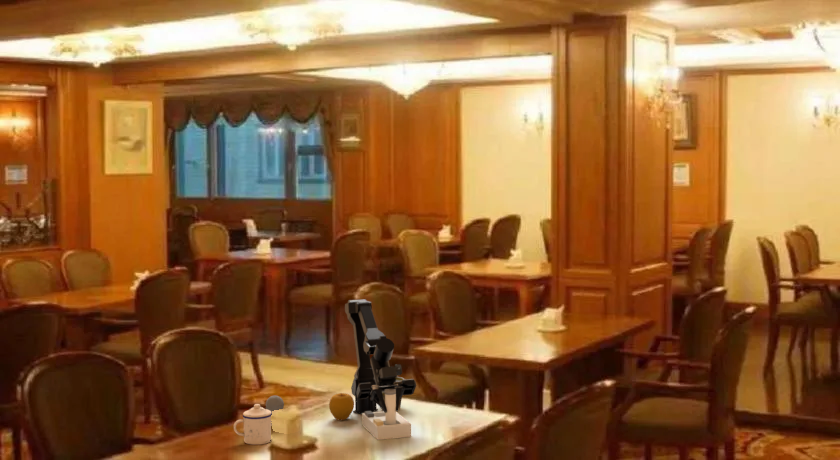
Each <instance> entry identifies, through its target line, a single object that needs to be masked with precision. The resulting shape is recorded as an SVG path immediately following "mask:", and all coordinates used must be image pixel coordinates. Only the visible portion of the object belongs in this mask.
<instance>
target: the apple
mask: <svg viewBox="0 0 840 460" xmlns="http://www.w3.org/2000/svg"><path fill="white" fill-rule="evenodd" d="M328 405H329V411H330V413H331V415H332V416H333V417H334V419H335V420H336V421H345V420H347V419H348V418H349V417H350V415H351V414H352V413H353V411H354V408H355V399H354V397H353V396H352V395H351V394H348V393H345V392H343V393H342V392H341V393H336V394H334V395H332V396H331V398H330V400H329V404H328Z"/></svg>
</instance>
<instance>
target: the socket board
mask: <svg viewBox="0 0 840 460" xmlns="http://www.w3.org/2000/svg"><path fill="white" fill-rule="evenodd" d="M361 417H362V418H361V419H362V420H361V421H362V422H361V424H362V425H361V426H363V428H365V429H366V430H367V431H368V432H369V433H370V434H371V435H372V437H374V438H375V439H376V440H377V441H378V440H390V439H399V438H411V437H412V424H411V422H409V421H408V420H407V419H406V418H405V417H403V416H402V415H401V414H400V413H399V412H396V424H394V425H385V412H384V411H383V410H382V411H375V412H371V411H365V413H361Z"/></svg>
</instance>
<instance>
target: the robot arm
mask: <svg viewBox="0 0 840 460" xmlns="http://www.w3.org/2000/svg"><path fill="white" fill-rule="evenodd" d="M372 306H373V304H372V301H369V300H367V299H366V298H365V299H364V298H363V299H349V300H348V301H347V303H345V304H344V312H345V314H346V317H347V320H348V321H349V322H350V324H351V325H352V326H353V327H352V328H353V337H354V345H355V354H356V362H357V367H356V371H355V373H354V374H353V377H354V378H353V381H352V385H351V394H352V395H353V396H354V398H355V399H354V408H355V410H354V409H353V411H352V413H356V414H362V413H365V411H371V412H378V410H379V408H380V409H382V411H384V412H385V413H386V412H387V409H386V405H385V402H384V399H383V395H382V392H385V389H396V412H397V413H399V409H400V408H399V399H400V398H401V397H403V396H411V395H413V394H414V393H415V390H416V388H417V383H416V380H415V379H414V378H404V380H402V383H401V384H394V382H396V378H395V377H398V376H401V375H402V373H403V369H402V364H394V365H393V366H390V360H391V358H392V356H393V352H394V349H395V343H394V342H393V340H391V339H389V338H387V335H385V334H384V332H382V331H381V330H379V328H378V324H377V322H376V320H375V319H376V318H375V315H374V314H373V313H374V312H373V309H372V308H373V307H372ZM370 355H371V356H370ZM377 405H378V406H379V408H377Z"/></svg>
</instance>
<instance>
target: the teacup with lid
mask: <svg viewBox="0 0 840 460" xmlns="http://www.w3.org/2000/svg"><path fill="white" fill-rule="evenodd" d="M271 415H272V412H271V411H270V410H267V409H266V408H264V407H262V406H261V404H259V403H255V404H254V405H253V407H251V408H249V409H248V410H245V411H244V412H243V413H242V417H243V419H237V420H236V421H234V423H233V431H234V432H235V433H236V434H237V435H238V436H242V437H243V441H244V443H246V444H248V445H255V446H258V445H259V446H260V445H265V444H268V443H270V442H271V441H272V440H271V426H273V425H272V423H271V422H272V421H271ZM240 423H243V432H239V431H238V430H237V425H238V424H240ZM270 440H271V441H270Z"/></svg>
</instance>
